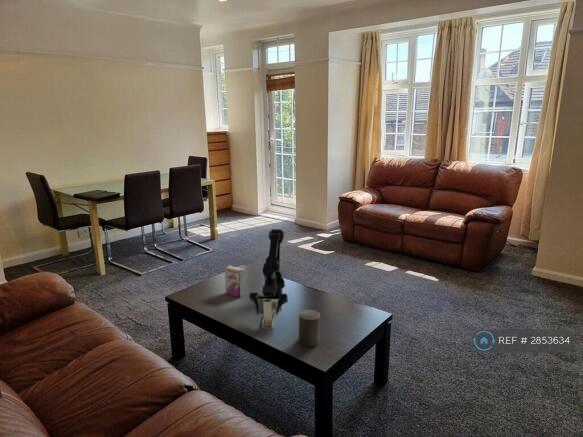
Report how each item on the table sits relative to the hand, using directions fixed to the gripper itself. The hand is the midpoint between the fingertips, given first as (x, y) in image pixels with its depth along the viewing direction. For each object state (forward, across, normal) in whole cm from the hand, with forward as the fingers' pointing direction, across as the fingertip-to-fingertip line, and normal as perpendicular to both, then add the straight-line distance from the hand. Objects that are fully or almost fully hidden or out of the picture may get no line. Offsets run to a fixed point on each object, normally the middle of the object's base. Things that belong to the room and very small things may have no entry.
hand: (267, 314), depth 199 cm
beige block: (0, 0, +9) cm, 9 cm away
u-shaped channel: (0, 0, +10) cm, 10 cm away
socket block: (-10, 0, +20) cm, 23 cm away
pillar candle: (+13, +21, -2) cm, 25 cm away
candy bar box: (-20, -24, +31) cm, 45 cm away
